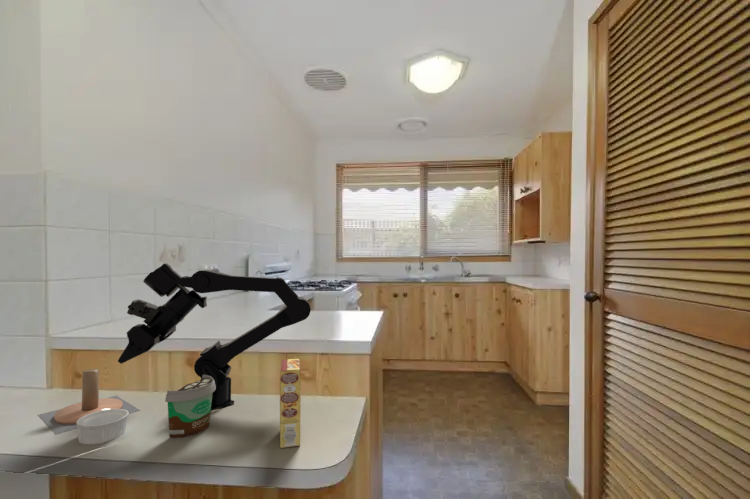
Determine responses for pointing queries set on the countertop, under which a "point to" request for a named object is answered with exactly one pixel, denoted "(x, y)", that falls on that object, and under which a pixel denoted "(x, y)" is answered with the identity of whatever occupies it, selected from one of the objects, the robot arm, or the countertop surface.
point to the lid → (87, 400)
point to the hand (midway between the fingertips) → (127, 357)
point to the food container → (190, 408)
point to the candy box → (290, 403)
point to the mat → (61, 428)
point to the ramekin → (102, 426)
